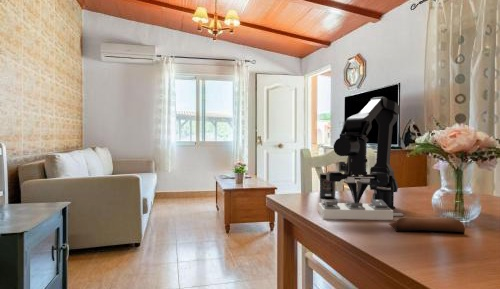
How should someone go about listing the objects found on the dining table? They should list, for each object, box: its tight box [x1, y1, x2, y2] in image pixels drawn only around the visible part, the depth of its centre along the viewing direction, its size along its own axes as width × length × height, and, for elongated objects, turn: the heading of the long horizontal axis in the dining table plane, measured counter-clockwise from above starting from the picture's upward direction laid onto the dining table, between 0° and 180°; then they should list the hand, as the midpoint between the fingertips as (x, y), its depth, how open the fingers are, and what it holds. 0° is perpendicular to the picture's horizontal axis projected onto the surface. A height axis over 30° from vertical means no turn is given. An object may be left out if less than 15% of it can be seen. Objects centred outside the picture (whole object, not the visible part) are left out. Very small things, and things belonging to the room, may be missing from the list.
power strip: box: [317, 202, 404, 221], centre depth 104 cm, size 27×10×4 cm, turn 87°
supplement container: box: [319, 172, 336, 200], centre depth 134 cm, size 7×7×10 cm
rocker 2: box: [370, 198, 388, 208], centre depth 102 cm, size 4×5×1 cm
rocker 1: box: [323, 200, 339, 205], centre depth 103 cm, size 4×5×1 cm
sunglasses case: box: [388, 216, 466, 235], centre depth 88 cm, size 18×7×7 cm
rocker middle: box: [346, 200, 363, 206], centre depth 103 cm, size 4×5×1 cm
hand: (356, 203), depth 101 cm, fingers closed, pressing on rocker middle
